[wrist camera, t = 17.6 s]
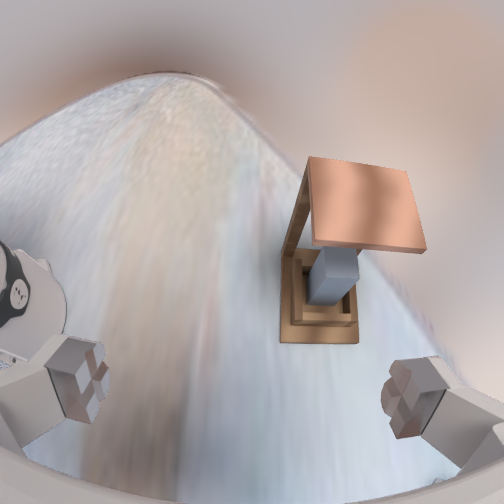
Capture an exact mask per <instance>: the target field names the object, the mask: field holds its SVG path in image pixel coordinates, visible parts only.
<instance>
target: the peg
mask: <svg viewBox="0 0 504 504" xmlns="http://www.w3.org/2000/svg"><path fill="white" fill-rule="evenodd" d="M359 279H360V278H359V268H358V259H357V251H356V249H355V248H343V247H330V246H323V248H322V250H321V251H320V253H319V255H318V257H317V259H316V261H315V263H314V265H313V266H312V268H311V270H310V272H309V274H308V276H307V278H306V305H312V306H335V305H336V304H337V303H338V302H339V300H340V299H341V298H342V297H343V296H344V295H345V294H346V293H347V292H348V291H349V290H350V289H351V287H352V286H353V285H354V284H355V283H356V282H357V281H358V280H359Z"/></svg>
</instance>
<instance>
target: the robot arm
mask: <svg viewBox="0 0 504 504" xmlns="http://www.w3.org/2000/svg"><path fill="white" fill-rule="evenodd" d="M65 318H66V301H65V296H64V293H63V290H62V288H61V286H60V285H59V283H58V282H57V281H56V280H55V278H54V277H53V276H52V273H51V269H50V265H49V263H48V261H46V260H45V259H33V258H32V257H30V256H29V255H28V254H26V253H25V252H24V251H23V250H21V249H17V250H11V249H10V248H9V247H8V246H7V245H6V244H4V243H2V242H1V241H0V359H1V360H2V361H4V362H5V363H7V364H8V365H10V367H7V368H4V369H2V370H0V504H185V503H178V502H171V501H165V500H159V499H154V498H149V497H144V496H139V495H135V494H131V493H126V492H122V491H118V490H115V489H111V488H107V487H104V486H100V485H97V484H94V483H90V482H87V481H84V480H81V479H78V478H75V477H72V476H69V475H67V474H64V473H61V472H59V471H56V470H53V469H51V468H48V467H46V466H44V465H41V464H39V463H37V462H34V461H32V460H30V459H28V458H27V456H26V454H25V453H24V451H23V450H22V448H23V447H24V446H26V445H27V444H29V443H31V442H32V441H34V440H35V439H37V438H38V437H40V436H41V435H43V434H44V433H46V432H47V431H49V430H50V429H52V428H53V427H55V426H56V425H58V424H59V423H61V422H62V421H64V420H65V419H66V418H69V419H72V420H76V421H80V422H84V423H88V424H92V423H93V421H94V419H95V417H96V415H97V413H98V411H99V409H100V408H99V404H98V402H99V401H101V400H103V399H105V397H106V395H107V393H108V391H109V386H110V372H109V368H108V367H107V365H106V364H105V363H104V362H103V359H104V358H105V356H106V353H105V349H104V345H103V344H102V343H100V342H96V341H91V340H86V339H82V338H77V337H73V336H68V335H64V334H61V333H62V330H63V327H64V324H65ZM15 359H16V362H15ZM389 373H390V375H391V378H390V379H389V380H387V381H386V382H385V383H384V386H383V389H382V392H381V404H382V408H383V410H384V413H385V414H387V415H388V416H390V417H391V420H390V423H389V424H390V426H391V428H392V430H393V433H394V435H395V437H396V439H401V438H408V437H414V436H420V435H421V437H422V438H423V439H424V440H426V441H427V442H428V443H429V444H430V445H432V446H433V447H434V448H435V449H437V450H438V451H439V452H440V453H442V454H443V455H444V456H445V457H447V458H448V459H449V460H450V461H452V462H453V463H454V464H456V465H457V466H458V467H459V468H461V470H460V471H459V472H458V473H457V475H456V476H455V477H454V478H451V479H448V480H445V481H442V482H439V483H435V484H432V485H429V486H425V487H422V488H418V489H415V490H411V491H407V492H403V493H399V494H394V495H390V496H385V497H381V498H375V499H370V500H364V501H358V502H352V503H345V504H504V403H502V402H500V401H498V400H496V399H494V398H492V397H490V396H488V395H486V394H484V393H482V392H480V391H478V390H476V389H474V388H471V387H469V386H463V384H462V383H461V382H460V381H459V379H458V378H457V377H456V376H455V374H454V373H453V372H452V370H451V369H450V368H449V367H448V365H447V364H446V363H445V362H444V361H443V359H442V358H441V357H439V356H430V357H423V358H417V359H404V360H395V361H394V362H393V363H392V365H391V367H390V370H389Z"/></svg>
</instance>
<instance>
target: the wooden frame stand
mask: <svg viewBox="0 0 504 504" xmlns="http://www.w3.org/2000/svg"><path fill="white" fill-rule="evenodd" d="M310 209H311V226H312V245H318V246H330V247H343V248H355V249H356V251H357V256H358V255H359V253H360V252H361V251H362V249H368V250H380V251H392V252H404V253H416V254H422V253H424V252H425V251H426V250H427V247H426V243H425V238H424V234H423V230H422V226H421V222H420V218H419V214H418V210H417V207H416V203H415V199H414V196H413V192H412V189H411V185H410V182H409V179H408V176H407V172H406V171H401V170H396V169H390V168H385V167H379V166H373V165H367V164H361V163H354V162H347V161H341V160H334V159H326V158H318V157H310V156H309V158H308V162H307V165H306V169H305V172H304V176H303V179H302V183H301V186H300V190H299V193H298V196H297V200H296V203H295V207H294V210H293V214H292V217H291V220H290V224H289V227H288V230H287V234H286V237H285V240H284V244H283V247H282V250H281V321H280V343H301V344H357V343H359V327H358V310H357V296H356V283H355V284H354V285H353V286H352V287H351V289H350V290H349V291H348V292H347V293H346V294H345V295H344V296H343V297H342V298H341V299H340V300H339V302H338V303H337V304H336V305H335V306H312V305H306V278H307V276H308V274H309V272H310V270H311V268H312V266H313V265H314V263H315V261H316V259H317V257H318V255H319V253H320V251H321V250H312V249H299V248H296V247H297V244H298V241H299V239H300V236H301V234H302V231H303V228H304V225H305V223H306V220H307V217H308V215H309V212H310Z"/></svg>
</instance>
